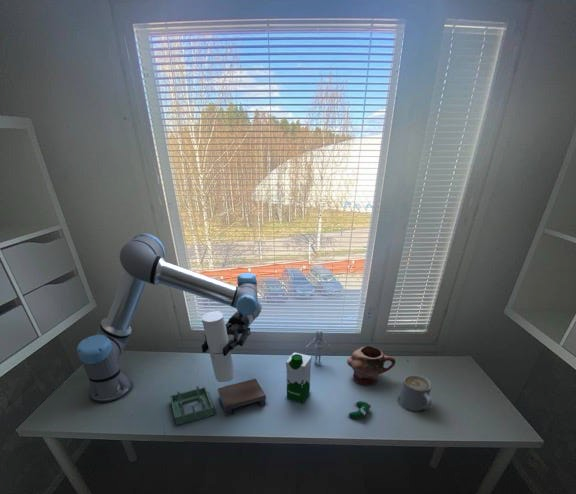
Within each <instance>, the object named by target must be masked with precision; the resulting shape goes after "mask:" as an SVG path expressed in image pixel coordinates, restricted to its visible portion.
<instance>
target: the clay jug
mask: <svg viewBox="0 0 576 494" xmlns="http://www.w3.org/2000/svg"><path fill="white" fill-rule="evenodd" d="M388 361H389V362H391V364H390V365H389V366H388V367H385V363H386V362H388ZM346 364H347V365H348V366H349V367H350V368H352V370H353V375H352V377H353V380H354V381H355V382H356V383H358V384H360V385H362V386H363V385H364V386H372V385H374V384H375V383H376V382H377V379H378V377H379V376H380V375H381V374H384V373H386V372H388V371H390V370H391V369H392V368H393V367H394V366H395V365H396V359H395V357H393V356H392V355H384V352H383V351H382V350H381V349H379V348H377V347H374V346H370V345H368V346H361V347H360V348H358V349H356V350H354V351H353V352H352V353H351V356H349V357H348V358H347V361H346Z"/></svg>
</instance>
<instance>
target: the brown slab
mask: <svg viewBox="0 0 576 494" xmlns="http://www.w3.org/2000/svg"><path fill="white" fill-rule="evenodd" d="M217 393H218V396H219V400H220V403H221V405H222V407H223V409H224V412H225V415H226V416H230V415H233V411H232V410H233V409H236V408H239V407H243V406H246V405H250V404H254V403H259V405H260V406H265V405H266V400H267V394H266V393H265V391H264V390H263V388H262V387H261V385H260V383H259V382H258V380H257V379H256V378H252V379H247V380H244V381H241V382H236V383H232V384H229V385H224V386H220V387H217Z"/></svg>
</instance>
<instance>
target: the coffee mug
mask: <svg viewBox="0 0 576 494" xmlns="http://www.w3.org/2000/svg"><path fill="white" fill-rule="evenodd" d="M401 387H402V388H401V391H400V395H399V400H398V401H399V404H400V405H401V406H402V407H403V408H405V409H407V410H409V411H412V412H419V411H422V410H428V409H430V408H431V407H432V403H433V400H432V397H431V396H430V394H431V393H430V392H431V390H432V382H431V381H430V380H429V379H428V378H427V377H425V376H422V375H418V374H411V375H406V377H405V378H404V379H403V384H402V386H401Z"/></svg>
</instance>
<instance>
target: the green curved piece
mask: <svg viewBox="0 0 576 494" xmlns="http://www.w3.org/2000/svg"><path fill="white" fill-rule="evenodd" d="M355 404H356V406H357V407H358V408H359V409H358V410H357V411H351V412H349V413H348V417H349V418H353V419H362V418H364V417H365V416H366V415H367V413H368V412H369V410H370V409H371V407H372V404H371V402H369V401H362V400H359V401H357V402H356V403H355Z"/></svg>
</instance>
